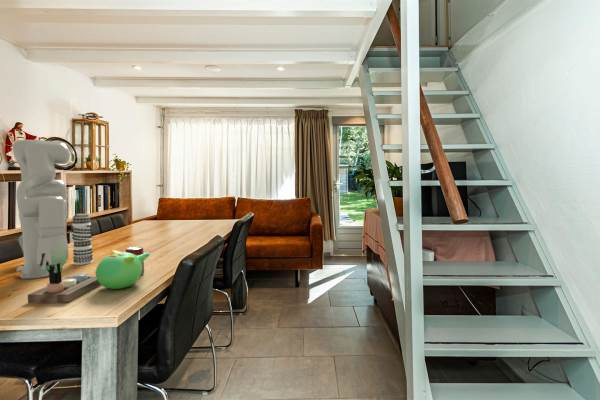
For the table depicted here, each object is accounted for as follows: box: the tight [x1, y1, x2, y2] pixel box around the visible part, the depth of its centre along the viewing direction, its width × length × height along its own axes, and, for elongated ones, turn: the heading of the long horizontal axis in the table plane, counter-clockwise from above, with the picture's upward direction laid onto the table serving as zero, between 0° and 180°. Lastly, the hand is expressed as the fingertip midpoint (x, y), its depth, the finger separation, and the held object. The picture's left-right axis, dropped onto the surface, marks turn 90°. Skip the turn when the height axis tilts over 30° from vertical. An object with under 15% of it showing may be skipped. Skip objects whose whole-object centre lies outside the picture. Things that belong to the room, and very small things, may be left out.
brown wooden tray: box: [27, 275, 102, 304], centre depth 132 cm, size 14×22×3 cm, turn 1°
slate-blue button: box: [71, 273, 88, 282], centre depth 139 cm, size 5×5×4 cm
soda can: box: [124, 246, 145, 276], centre depth 155 cm, size 7×7×12 cm
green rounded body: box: [95, 249, 151, 290], centre depth 137 cm, size 18×17×15 cm
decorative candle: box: [70, 213, 94, 266], centre depth 178 cm, size 9×9×25 cm
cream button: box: [62, 279, 77, 287], centre depth 132 cm, size 5×5×4 cm
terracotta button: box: [46, 281, 64, 294], centre depth 125 cm, size 5×5×4 cm
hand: (55, 283), depth 124 cm, fingers closed
